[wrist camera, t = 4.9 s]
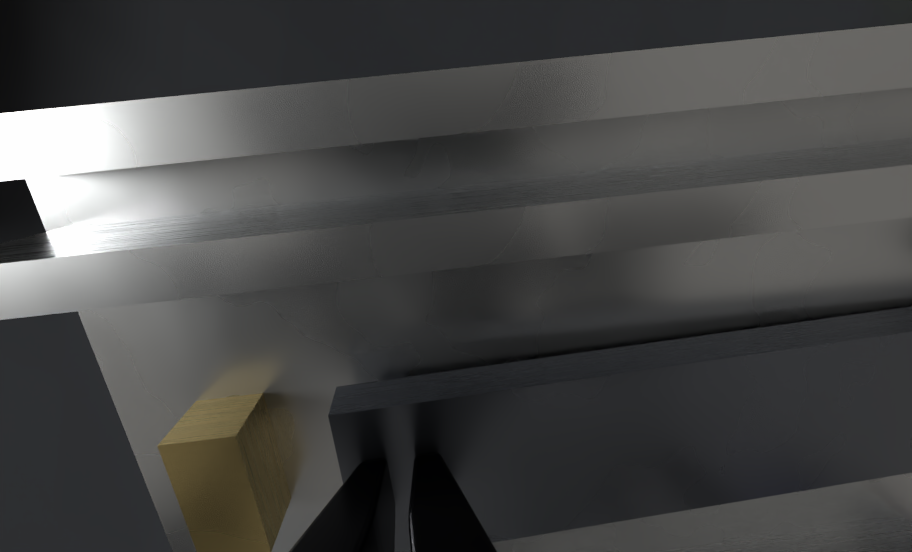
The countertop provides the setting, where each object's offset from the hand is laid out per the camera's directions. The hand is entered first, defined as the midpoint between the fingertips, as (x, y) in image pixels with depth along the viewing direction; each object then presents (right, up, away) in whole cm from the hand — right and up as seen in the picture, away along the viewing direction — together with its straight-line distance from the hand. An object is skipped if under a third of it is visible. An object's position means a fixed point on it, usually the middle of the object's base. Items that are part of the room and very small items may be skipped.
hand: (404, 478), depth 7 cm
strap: (+6, +1, +1) cm, 6 cm away
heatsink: (+4, +2, +4) cm, 6 cm away
